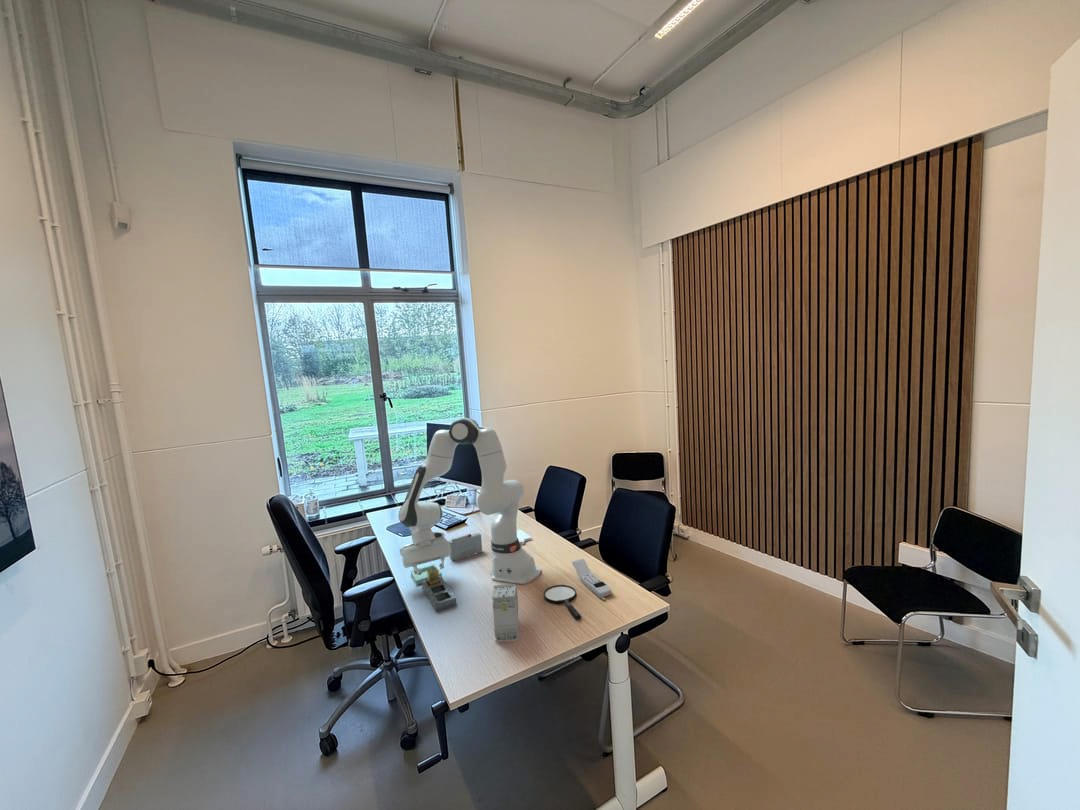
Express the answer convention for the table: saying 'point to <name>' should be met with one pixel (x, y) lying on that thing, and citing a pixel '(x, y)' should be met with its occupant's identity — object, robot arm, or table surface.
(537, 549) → the table surface
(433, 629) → the table surface
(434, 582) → the brass plug
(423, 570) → the parts tray
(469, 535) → the cassette player
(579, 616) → the magnifying glass
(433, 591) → the socket block
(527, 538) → the mounting plate
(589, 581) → the mobile phone
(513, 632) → the circuit breaker
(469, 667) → the table surface
